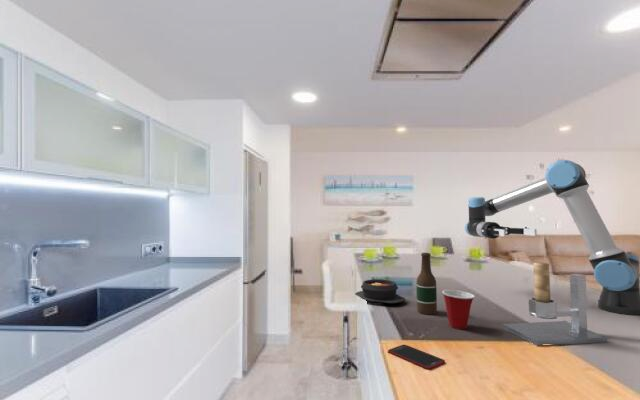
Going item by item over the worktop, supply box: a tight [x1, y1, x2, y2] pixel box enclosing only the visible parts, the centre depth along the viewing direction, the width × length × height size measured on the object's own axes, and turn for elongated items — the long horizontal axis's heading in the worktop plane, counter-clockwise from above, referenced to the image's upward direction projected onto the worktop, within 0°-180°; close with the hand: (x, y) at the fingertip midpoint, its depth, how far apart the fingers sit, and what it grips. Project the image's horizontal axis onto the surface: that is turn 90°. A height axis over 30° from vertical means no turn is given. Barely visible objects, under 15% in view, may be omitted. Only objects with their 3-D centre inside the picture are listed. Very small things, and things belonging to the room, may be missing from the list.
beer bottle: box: [416, 252, 438, 316], centre depth 141 cm, size 8×8×24 cm
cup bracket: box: [502, 273, 608, 346], centre depth 115 cm, size 24×16×20 cm, turn 97°
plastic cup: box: [442, 289, 475, 330], centre depth 124 cm, size 11×11×12 cm
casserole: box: [354, 278, 406, 304], centre depth 160 cm, size 25×19×8 cm
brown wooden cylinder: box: [532, 262, 551, 303], centre depth 115 cm, size 4×4×16 cm
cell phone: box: [387, 344, 446, 371], centre depth 98 cm, size 8×15×1 cm, turn 36°
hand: (520, 232), depth 141 cm, fingers open, 13 cm apart
